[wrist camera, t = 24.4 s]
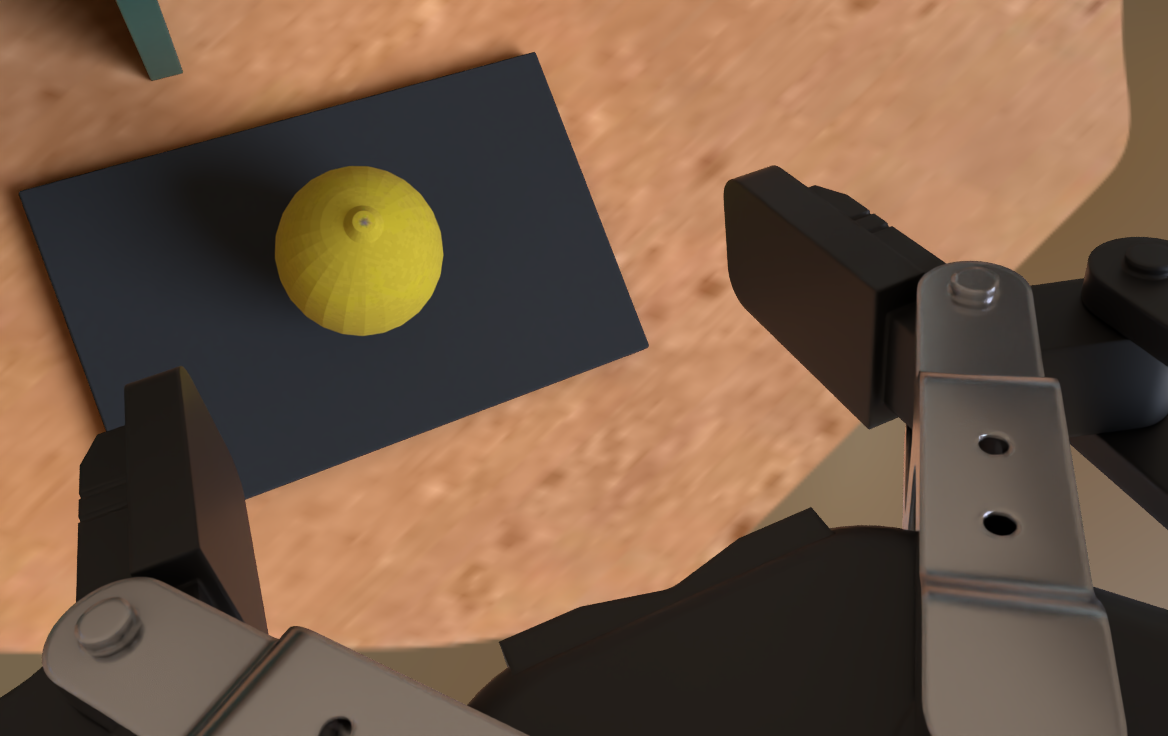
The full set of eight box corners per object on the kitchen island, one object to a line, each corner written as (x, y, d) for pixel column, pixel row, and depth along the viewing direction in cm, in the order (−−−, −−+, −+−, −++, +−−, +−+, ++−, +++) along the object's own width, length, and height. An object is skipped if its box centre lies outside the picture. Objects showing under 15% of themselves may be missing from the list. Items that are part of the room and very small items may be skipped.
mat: (531, 59, 40) (535, 50, 40) (644, 349, 40) (650, 346, 39) (24, 197, 35) (17, 190, 34) (148, 536, 34) (144, 537, 34)
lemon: (279, 348, 36) (264, 308, 28) (283, 202, 36) (270, 124, 29) (430, 352, 37) (456, 315, 29) (432, 212, 38) (457, 139, 30)
